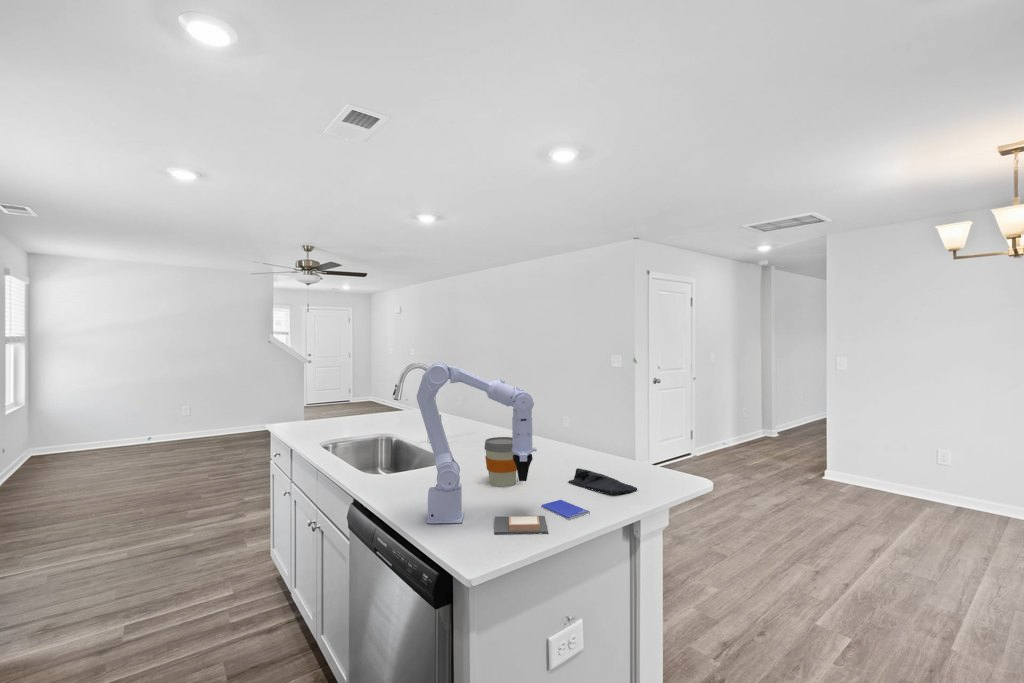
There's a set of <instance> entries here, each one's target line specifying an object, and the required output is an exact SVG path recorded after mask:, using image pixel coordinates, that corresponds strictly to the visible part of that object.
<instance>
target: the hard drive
mask: <svg viewBox="0 0 1024 683" xmlns="http://www.w3.org/2000/svg"><path fill="white" fill-rule="evenodd" d="M540 507H541V509H542V508H543V509H542V510H545V511H547V512H549V511H550V512H549V513H551V512H552V514H553V513H554V514H553V515H556V516H558V515H559V516H558V517H560V516H561V517H560V518H562V517H563V518H562V519H564V518H565V520H567V521H572V520H575V518H576V519H578V517H579V518H581V517H580V516H582V517H585V516H584V515H586V514H589V515H591V511H590V510H588V509H585V508H582V507H581V506H577V505H575V504H573V503H570V502H568V501H565V500H563V499H558V500H555V501H550V502H547V503H543V504H541V506H540ZM586 516H587V515H586ZM571 519H572V520H571Z"/></svg>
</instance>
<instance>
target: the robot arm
mask: <svg viewBox="0 0 1024 683" xmlns="http://www.w3.org/2000/svg"><path fill="white" fill-rule="evenodd" d="M449 380H450V381H449ZM448 381H449V384H455V383H463V384H465V385H467V386H470V387H473V388H475V389H478V390H480V391H483V392H485V393H486V395H487V396H486V397H487V398H488V400H489V399H490V400H492V401H494V402H497V403H500V404H501V405H503V406H506V407H513V408H512V417H511V419H512V420H511V421H512V426H511V428H512V429H511V431H512V432H511V433H512V434H511V436H512V441H513V448H512V452H513V453H515V454H517V455H513V460H514V462H515V464H516V468H517V472H516V474H517V478H518V481H519V482H527V480H528V476H529V475H528V474H529V468H530V465H531V463H532V462H533V454H532V453H533V452H537V450H538V449H537V447H533V417H532V414H533V412H532V410H533V407H534V405H535V402H534V399H533V398H532V396H531V394H529V393H528V392H526V391H525V390H524V389H521V388H520V387H519V386H516V387H514V386H512V385H510V384H508V383H505V382H506V381H505V380H503V379H500V380H498V379H494V380H492V381H490V380H487V379H485V378H482V377H481V376H478V375H476V374H474V373H472V372H470V371H467V370H466V369H463V368H461V367H458V366H454V365H451V364H448V365H447V364H446V363H444V362H440V361H438V362H437V361H436V362H433V363H432V364H431V365H430V366H429V367H428V368H427V369H426V371H425V372H424V373H423V374H422V378H421V381H420V383H419V386H418V390H417V393H416V401H417V404H418V408H419V410H420V413H421V417H422V419H423V420H422V421H423V423H424V427H425V429H426V434H427V438H428V440H429V444H430V447H431V450H432V452H433V453H432V454H433V456H434V461H435V469H436V471H437V474H436V485H435V486H430V487H428V492H427V522H426V523H427V524H462V523H463V520H464V515H465V511H463V509H462V508H463V507H462V505H463V503H462V502H463V501H462V498H463V496H462V494H463V493H462V491H463V490H462V487H463V486H462V483H461V482H460V479H461V476H460V473H461V472H460V471H461V468H460V465H459V463H458V462H457V460H455V458H454V456H453V453H452V451H451V449H450V445H449V442H448V438H447V434H446V432H445V429H444V426H443V423H442V418H441V416H440V412H439V410H438V406H437V402H436V400H435V398H436V396H437V395H438V392H439V390H440V389H441V388H442V387H443V386H445V384H447V382H448Z"/></svg>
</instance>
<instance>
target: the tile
mask: <svg viewBox="0 0 1024 683" xmlns="http://www.w3.org/2000/svg"><path fill="white" fill-rule="evenodd" d="M508 516H509V531H540V523H539V518H538V516H539V515H523V516H522V515H514V516H513V515H512V516H511V515H508Z"/></svg>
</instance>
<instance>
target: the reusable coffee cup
mask: <svg viewBox="0 0 1024 683" xmlns="http://www.w3.org/2000/svg"><path fill="white" fill-rule="evenodd" d="M484 441H485V442H484V450H485V457H484V458H485V464H486V470H487V471H488V479H489V485H491V486H493V487H498V488H505V487H512V486H514V485H515V484H516V479H517V468H516V464H515V462H514V460H513V455H517V454H515V453H513V452H512V448H513V441H512V437H509V436H498V437H489V438H486V439H485V440H484Z"/></svg>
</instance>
